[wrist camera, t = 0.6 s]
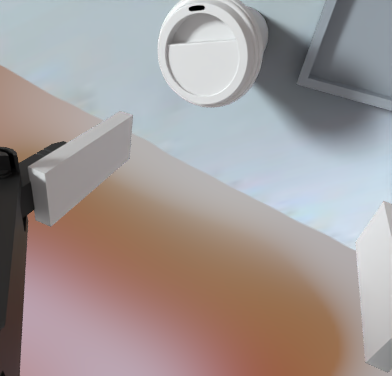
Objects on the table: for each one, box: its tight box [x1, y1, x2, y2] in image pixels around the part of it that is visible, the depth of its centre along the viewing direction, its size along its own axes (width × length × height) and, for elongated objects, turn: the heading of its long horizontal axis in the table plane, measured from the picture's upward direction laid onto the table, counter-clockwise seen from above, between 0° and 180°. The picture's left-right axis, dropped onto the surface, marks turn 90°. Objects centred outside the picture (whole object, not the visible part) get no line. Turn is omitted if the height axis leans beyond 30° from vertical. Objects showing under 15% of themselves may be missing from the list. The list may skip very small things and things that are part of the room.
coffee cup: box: [158, 0, 269, 107], centre depth 33 cm, size 10×10×15 cm
